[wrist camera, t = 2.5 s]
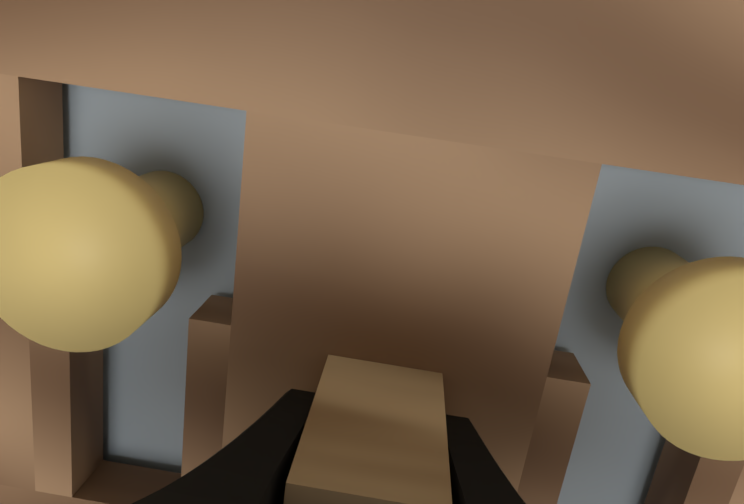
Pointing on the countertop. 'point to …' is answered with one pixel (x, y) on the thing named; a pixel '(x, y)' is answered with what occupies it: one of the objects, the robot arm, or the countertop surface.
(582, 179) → the panel
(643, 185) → the boss board
